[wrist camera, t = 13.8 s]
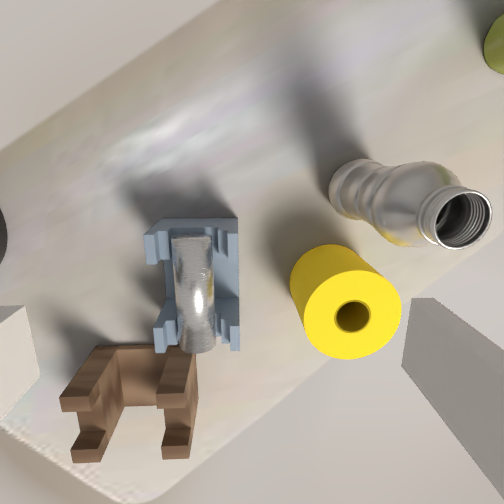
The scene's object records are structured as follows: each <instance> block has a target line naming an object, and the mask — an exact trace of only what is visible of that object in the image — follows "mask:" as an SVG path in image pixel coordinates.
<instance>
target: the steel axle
mask: <svg viewBox="0 0 504 504" xmlns="http://www.w3.org/2000/svg"><path fill="white" fill-rule="evenodd" d="M171 245H172V258H173V271H174V284H175V297H176V310H177V323H178V336H179V347H180V349H181V350H182V351H184V352H187V353H192V354H198V353H203V352H207V351H209V350H211V349H212V348H213V347H214V346H215V344H216V326H215V301H214V275H213V249H212V235H210V234H207V233H200V232H191V233H182V234H177V235H174V236H172V237H171Z"/></svg>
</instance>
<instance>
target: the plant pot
mask: <svg viewBox="0 0 504 504" xmlns="http://www.w3.org/2000/svg"><path fill="white" fill-rule="evenodd" d="M484 56H485V60H486V62H487V64H488V66H489V67H490V68H491V69H493V70H495V71H497V72H499V73H501V74H504V13H503V14H502V15H501V16H499V17H498V18H497V19H496V20H495V21H494V23H493V25H492V26H491V28H490V30H489V32H488V34H487V36H486V38H485V42H484Z"/></svg>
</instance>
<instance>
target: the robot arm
mask: <svg viewBox="0 0 504 504" xmlns="http://www.w3.org/2000/svg"><path fill="white" fill-rule="evenodd" d="M6 247H7V229H6V224H5V221H4V218H3V215H2V212H1V210H0V263H1V262H2V260H3V257H4V255H5V252H6ZM401 366H402V367H403V369H404V370H405V371H406V373H407V374H408V375H409V377H410V378H411V379H412V380H413V382H414V383H415V384H416V386H417V387H418V388H419V390H420V391H421V392H422V393H423V395H424V396H425V397H426V399H427V400H428V401H429V402H430V404H431V405H432V407H433V408H434V409H435V410H436V412H437V413H438V414H439V416H440V417H441V418H442V420H443V421H444V422H445V423H446V425H447V426H448V427H449V429H450V430H451V431H452V432H453V434H454V435H455V436H456V438H457V439H458V440H459V442H460V443H461V444H462V446H463V447H464V448H465V449H466V451H467V452H468V453H469V455H470V456H471V457H472V459H473V460H474V461H475V463H476V464H477V465H478V466H479V468H480V469H481V470H482V472H483V473H484V474H485V476H486V477H487V478H488V479H489V481H490V482H491V483H492V485H493V486H494V487H495V488H496V490H497V491H498V492H499V494H500V495H501V496H502V498H503V499H504V350H503V349H501V348H500V347H499V346H497V345H496V344H495V343H493V342H492V341H491V340H489V339H488V338H487V337H485V336H484V335H482V334H481V333H480V332H478V331H477V330H476V329H475V328H473V327H472V326H470V325H469V324H468V323H466V322H465V321H464V320H462V319H461V318H460V317H458V316H457V315H456V314H454V313H453V312H452V311H450V310H449V309H448V308H446V307H445V306H444V305H442V304H441V303H440V302H438V301H437V300H435V299H434V298H412V300H411V307H410V313H409V320H408V327H407V333H406V340H405V346H404V352H403V359H402V365H401ZM39 377H40V372H39V367H38V363H37V358H36V354H35V349H34V345H33V340H32V336H31V331H30V327H29V322H28V318H27V313H26V309H25V306H0V421H1V420H2V419H3V418H4V417H5V416H6V414H7V413H8V412H9V411H10V410H11V409H12V408H13V407H14V405H15V404H16V403H17V402H18V401H19V400H20V399H21V397H22V396H23V395H24V394H25V393H26V392H27V391H28V389H29V388H30V387H31V386H32V385H33V384H34V383H35V382H36V380H37V379H38V378H39Z"/></svg>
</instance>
